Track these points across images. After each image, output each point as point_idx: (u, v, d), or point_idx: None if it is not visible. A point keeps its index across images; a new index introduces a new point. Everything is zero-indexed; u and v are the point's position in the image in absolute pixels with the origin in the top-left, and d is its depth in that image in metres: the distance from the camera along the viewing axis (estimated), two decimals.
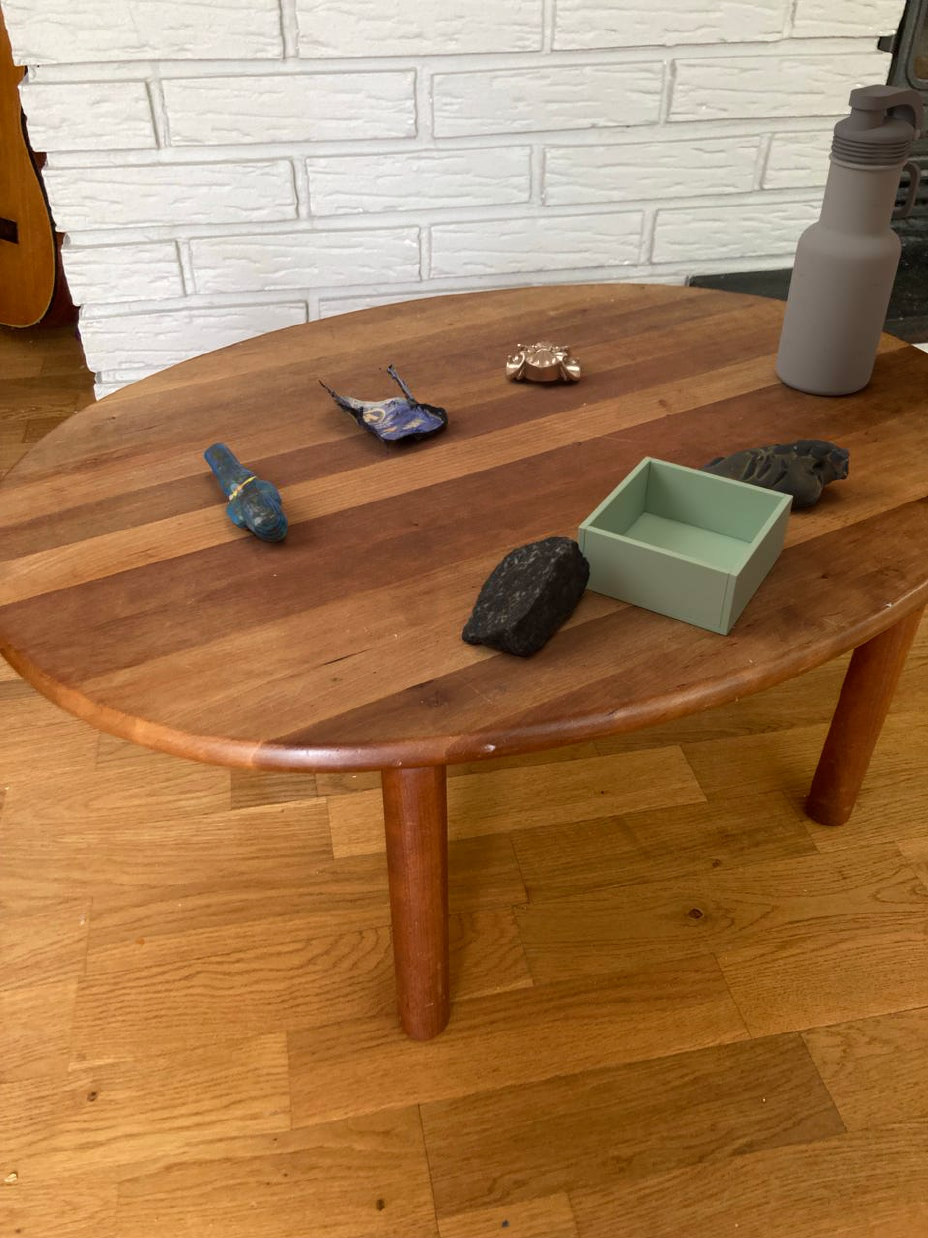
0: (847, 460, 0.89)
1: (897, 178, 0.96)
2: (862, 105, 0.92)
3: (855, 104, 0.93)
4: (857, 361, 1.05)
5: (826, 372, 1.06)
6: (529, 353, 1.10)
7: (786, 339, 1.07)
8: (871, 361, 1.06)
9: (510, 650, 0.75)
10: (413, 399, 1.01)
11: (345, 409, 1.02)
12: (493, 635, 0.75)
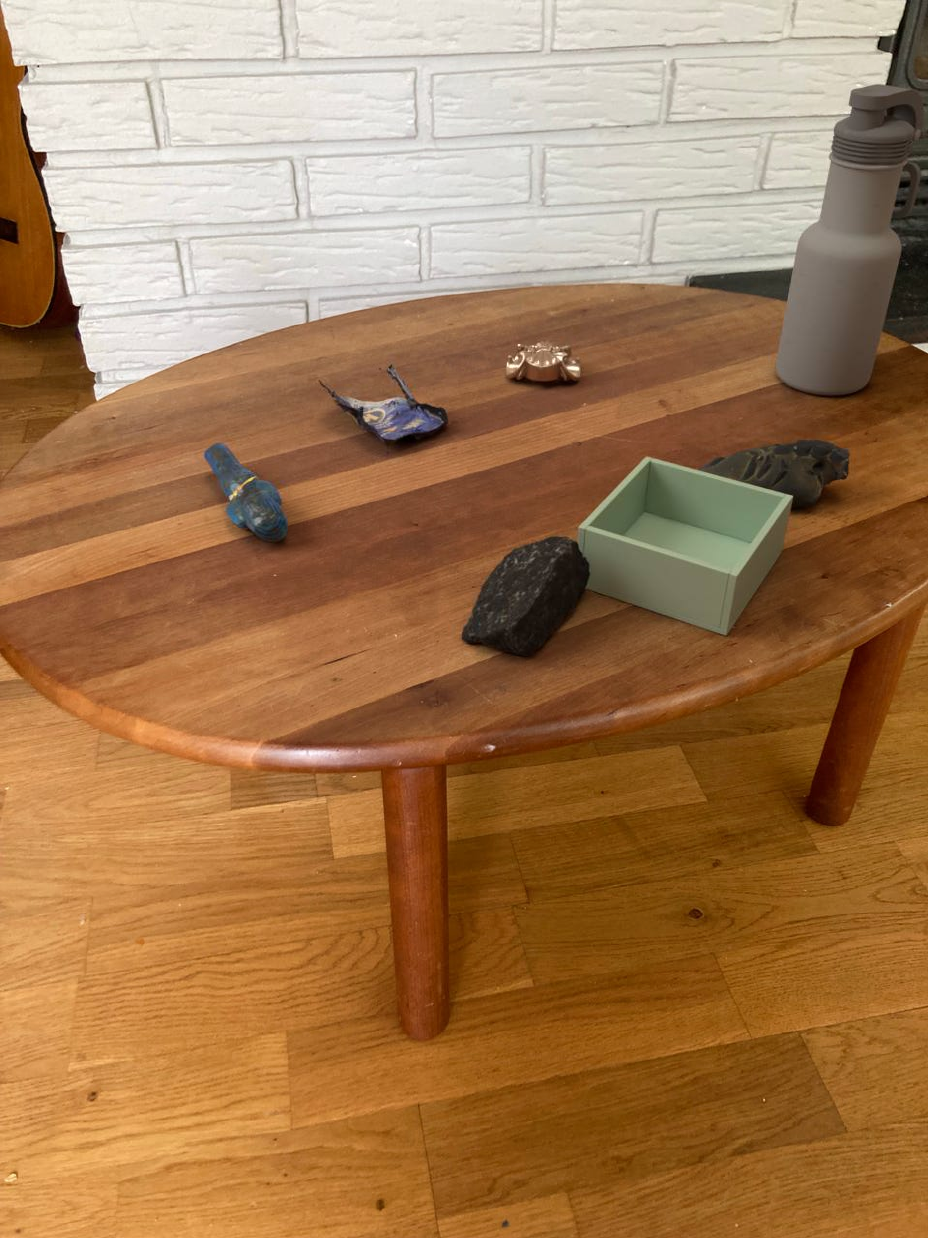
0: (847, 460, 0.89)
1: (897, 178, 0.96)
2: (862, 105, 0.92)
3: (855, 104, 0.93)
4: (857, 361, 1.05)
5: (826, 372, 1.06)
6: (529, 353, 1.10)
7: (786, 338, 1.07)
8: (871, 361, 1.06)
9: (510, 650, 0.75)
10: (413, 399, 1.01)
11: (345, 409, 1.02)
12: (493, 635, 0.75)
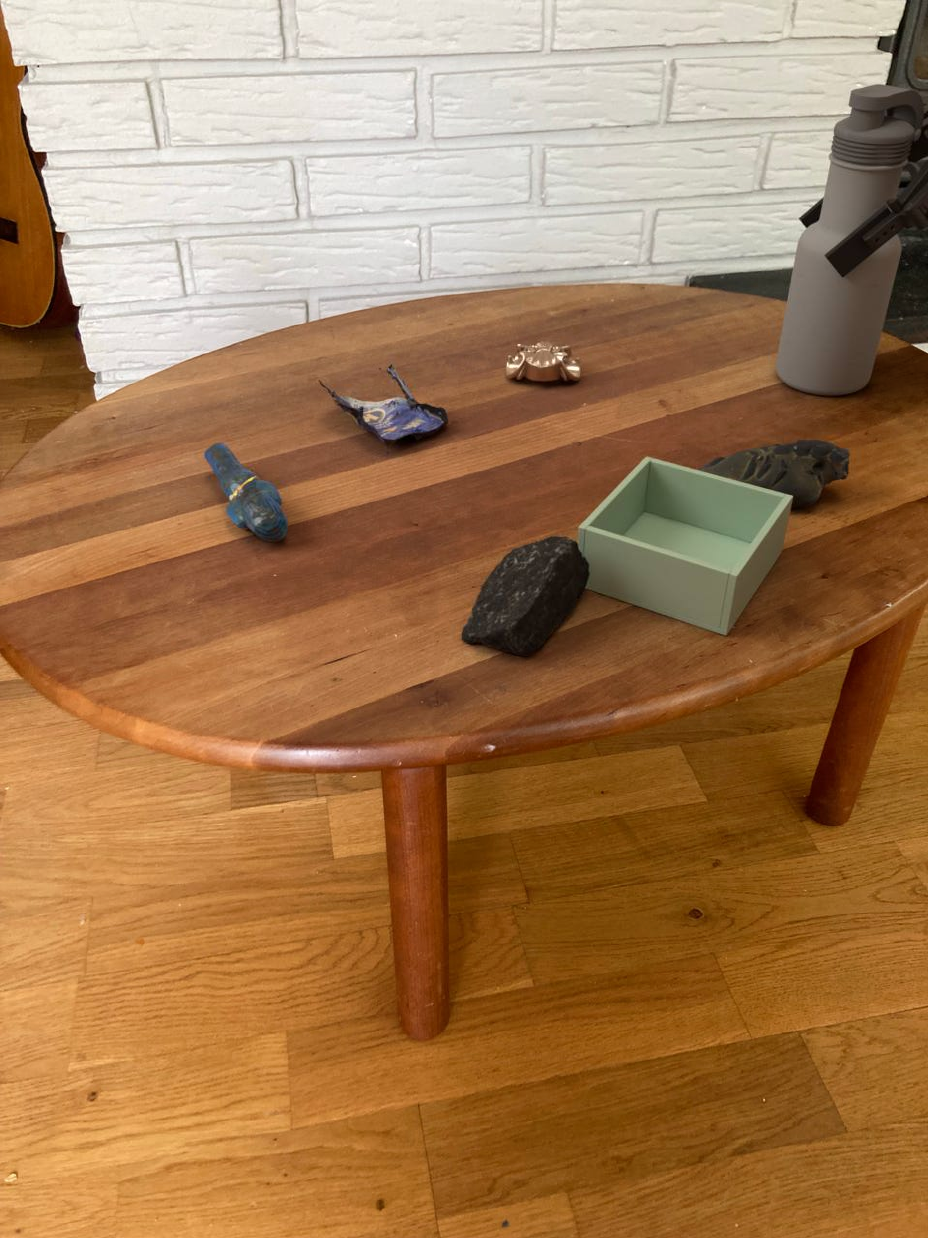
0: (847, 460, 0.89)
1: (897, 179, 0.96)
2: (862, 106, 0.92)
3: (855, 105, 0.92)
4: (857, 361, 1.05)
5: (826, 372, 1.06)
6: (529, 353, 1.10)
7: (786, 339, 1.07)
8: (871, 361, 1.06)
9: (510, 650, 0.75)
10: (413, 399, 1.01)
11: (345, 409, 1.02)
12: (493, 635, 0.75)
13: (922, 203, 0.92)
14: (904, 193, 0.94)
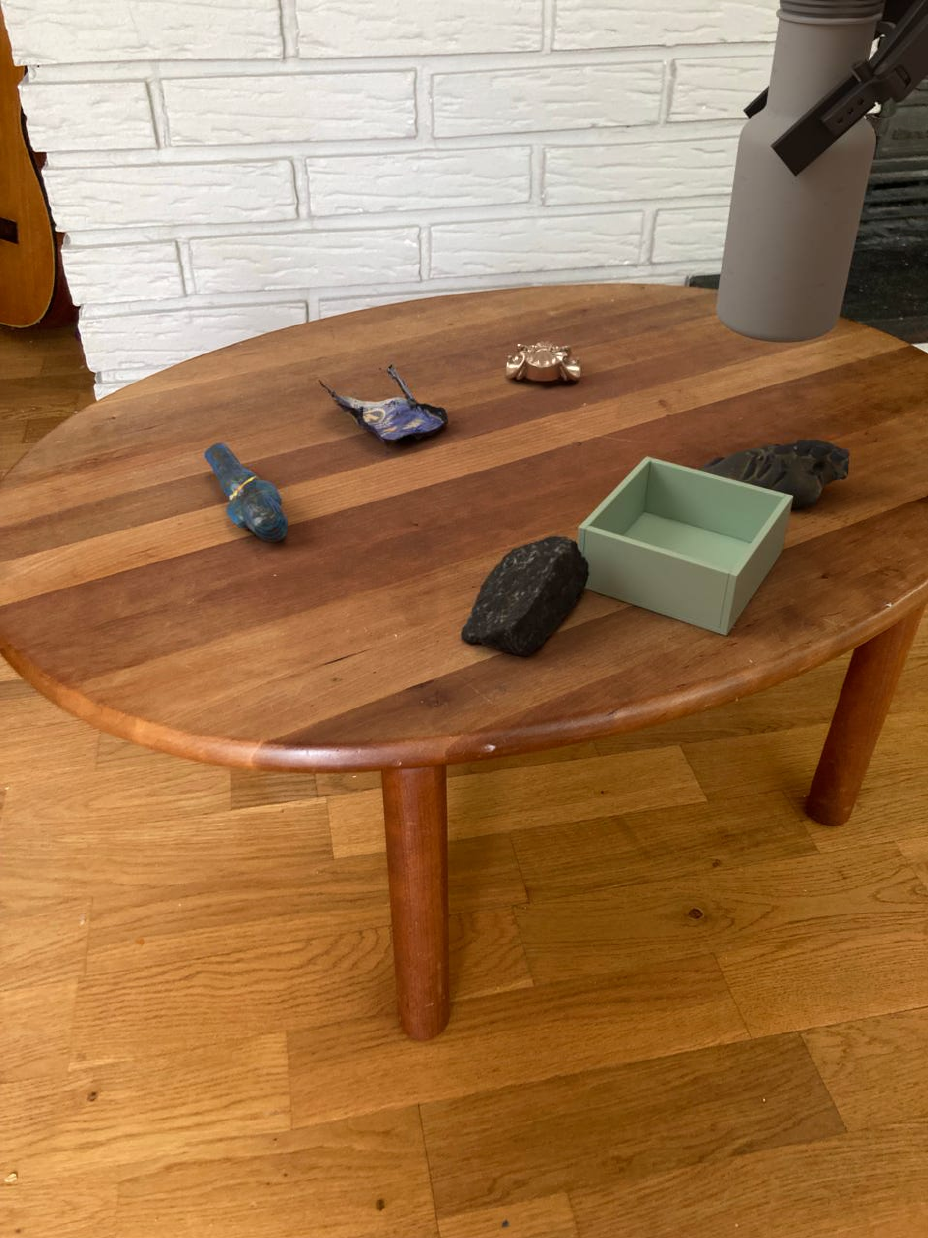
0: (847, 460, 0.89)
1: (868, 39, 0.71)
2: None
3: None
4: (819, 295, 0.80)
5: (778, 311, 0.80)
6: (529, 353, 1.10)
7: (727, 268, 0.82)
8: (838, 296, 0.81)
9: (509, 650, 0.75)
10: (413, 399, 1.01)
11: (345, 409, 1.02)
12: (493, 635, 0.75)
13: (900, 62, 0.66)
14: (876, 54, 0.69)
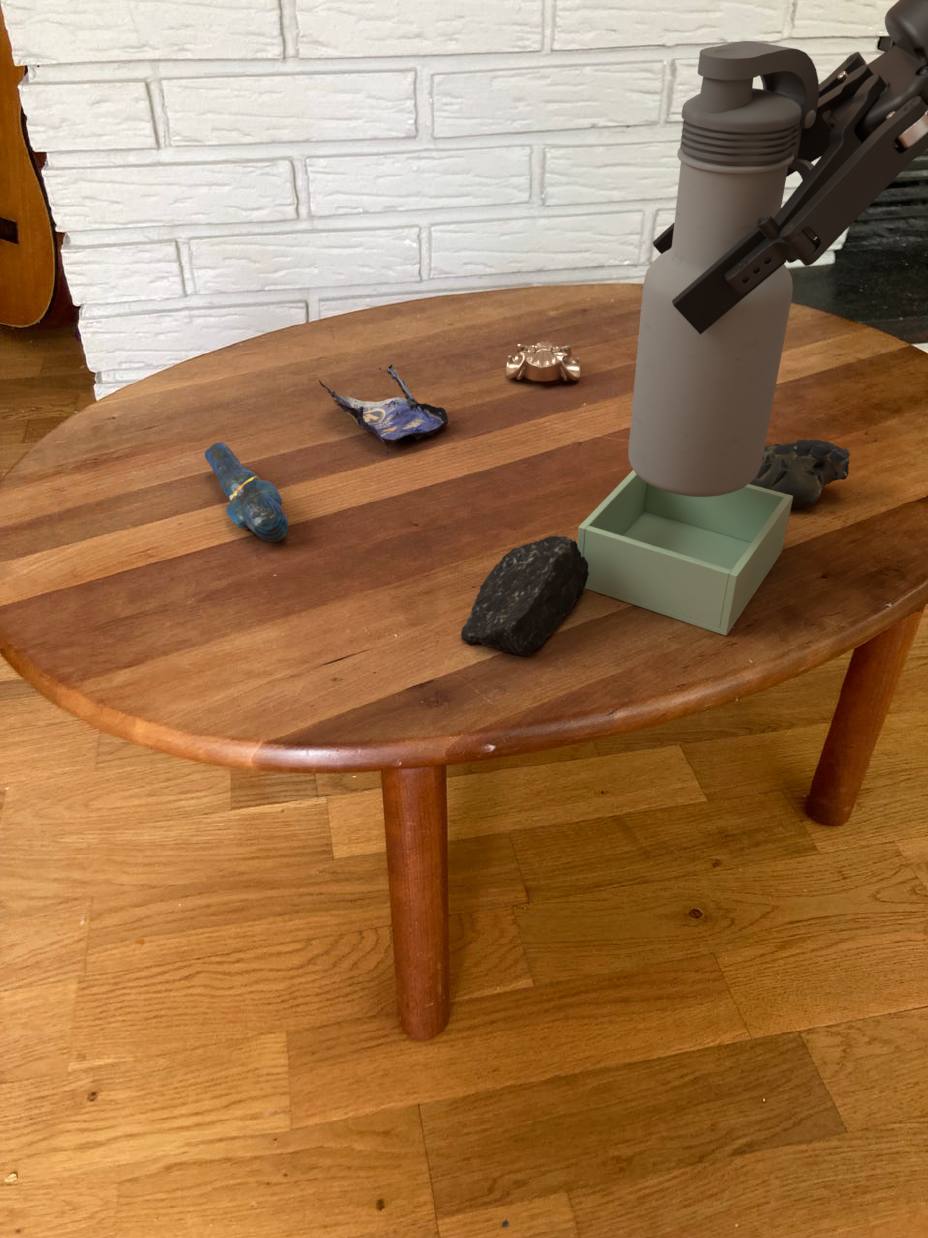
0: (847, 460, 0.89)
1: (778, 186, 0.63)
2: (715, 73, 0.59)
3: (705, 71, 0.60)
4: (734, 450, 0.72)
5: (691, 466, 0.73)
6: (529, 353, 1.10)
7: (636, 415, 0.74)
8: (757, 449, 0.73)
9: (509, 650, 0.75)
10: (413, 399, 1.01)
11: (345, 409, 1.02)
12: (493, 635, 0.75)
13: (808, 225, 0.59)
14: (784, 208, 0.61)
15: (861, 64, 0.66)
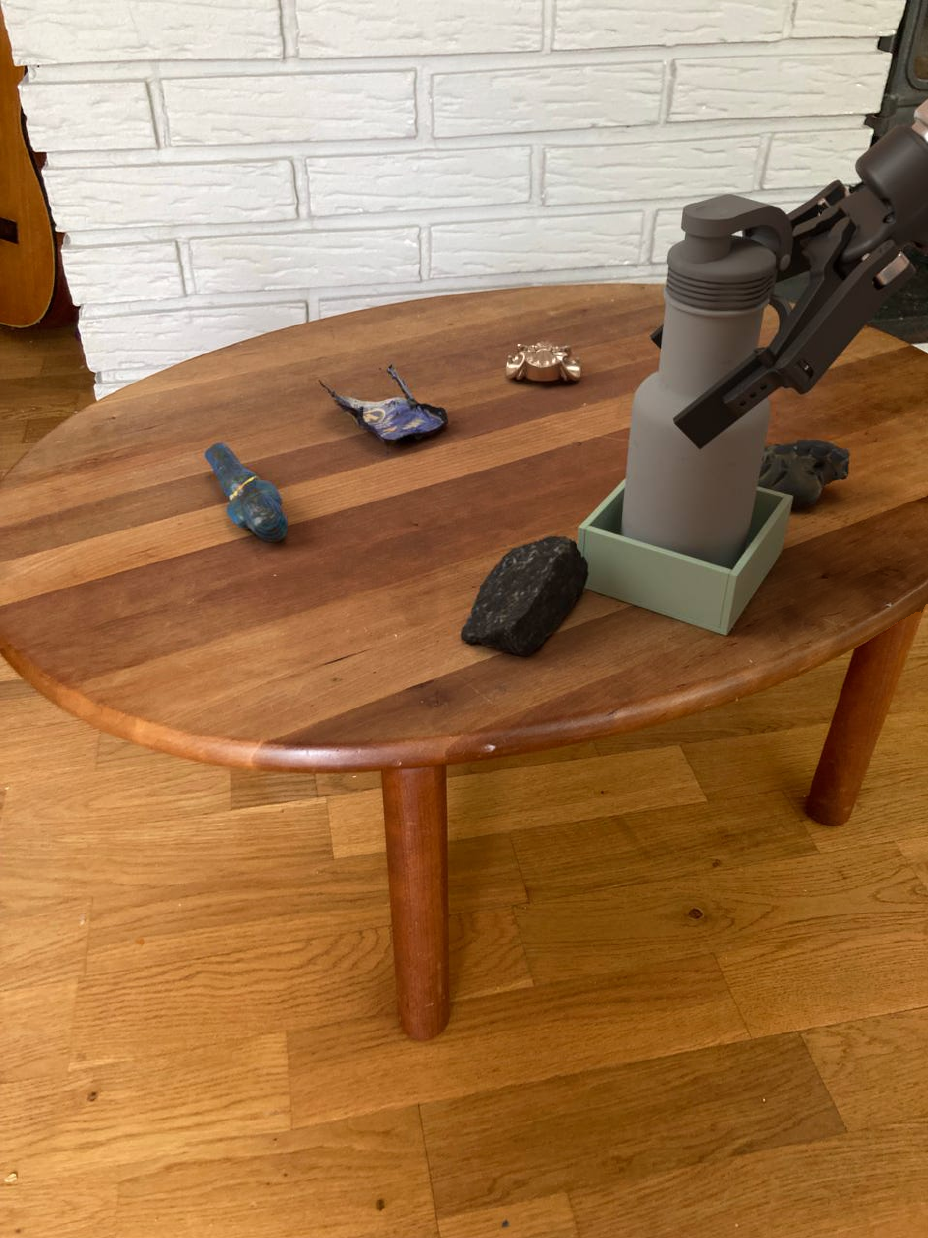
0: (847, 460, 0.89)
1: (755, 325, 0.69)
2: (696, 231, 0.65)
3: (687, 228, 0.65)
4: (717, 556, 0.78)
5: None
6: (529, 353, 1.10)
7: (626, 520, 0.80)
8: (738, 553, 0.79)
9: (509, 650, 0.75)
10: (413, 399, 1.01)
11: (345, 409, 1.02)
12: (493, 635, 0.75)
13: (801, 357, 0.62)
14: (777, 339, 0.65)
15: (841, 192, 0.71)
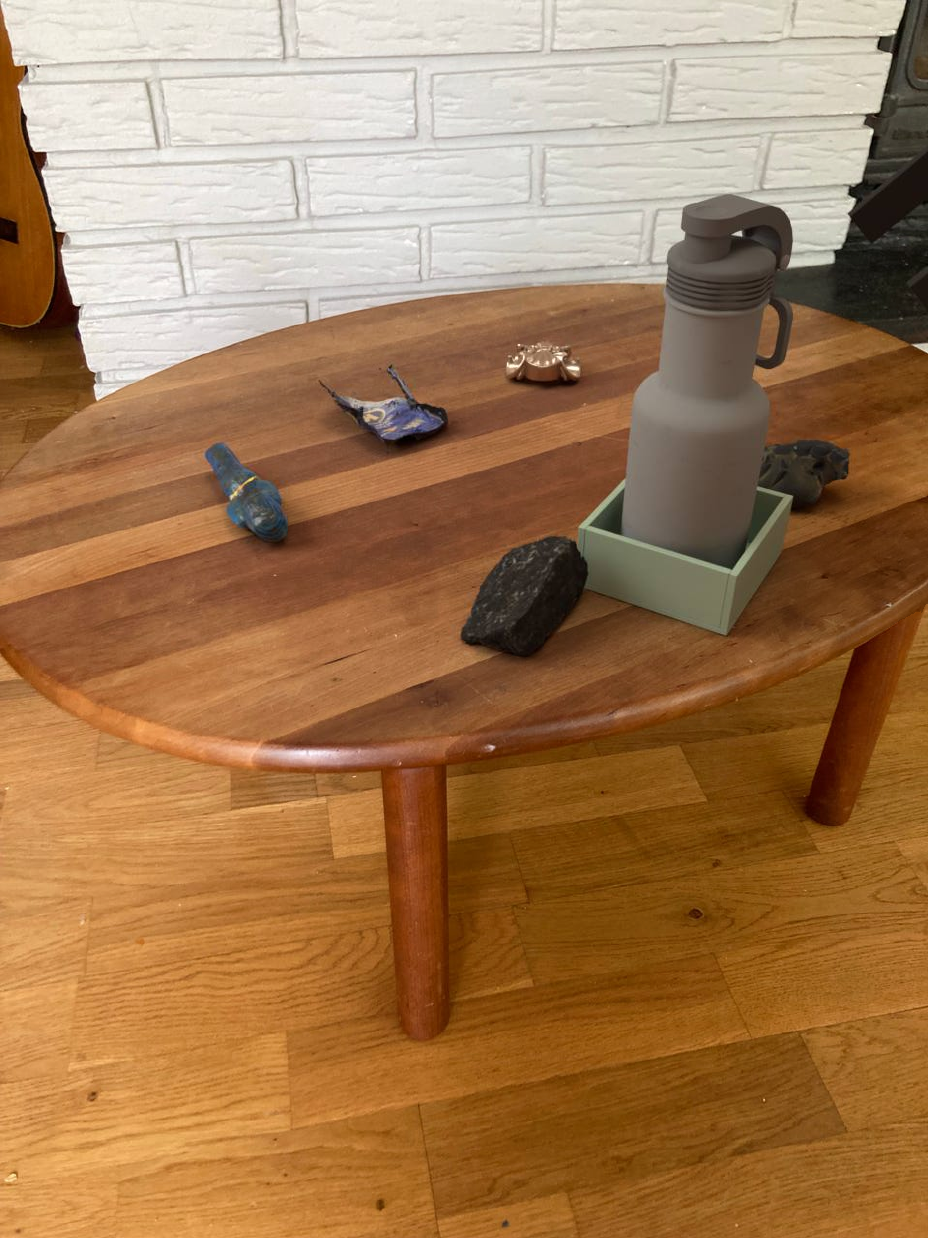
0: (847, 460, 0.89)
1: (755, 325, 0.69)
2: (696, 231, 0.65)
3: (687, 228, 0.65)
4: (717, 556, 0.78)
5: None
6: (529, 353, 1.10)
7: (626, 520, 0.80)
8: (738, 553, 0.79)
9: (509, 650, 0.75)
10: (413, 399, 1.01)
11: (345, 409, 1.02)
12: (492, 635, 0.75)
13: None
14: None
15: None
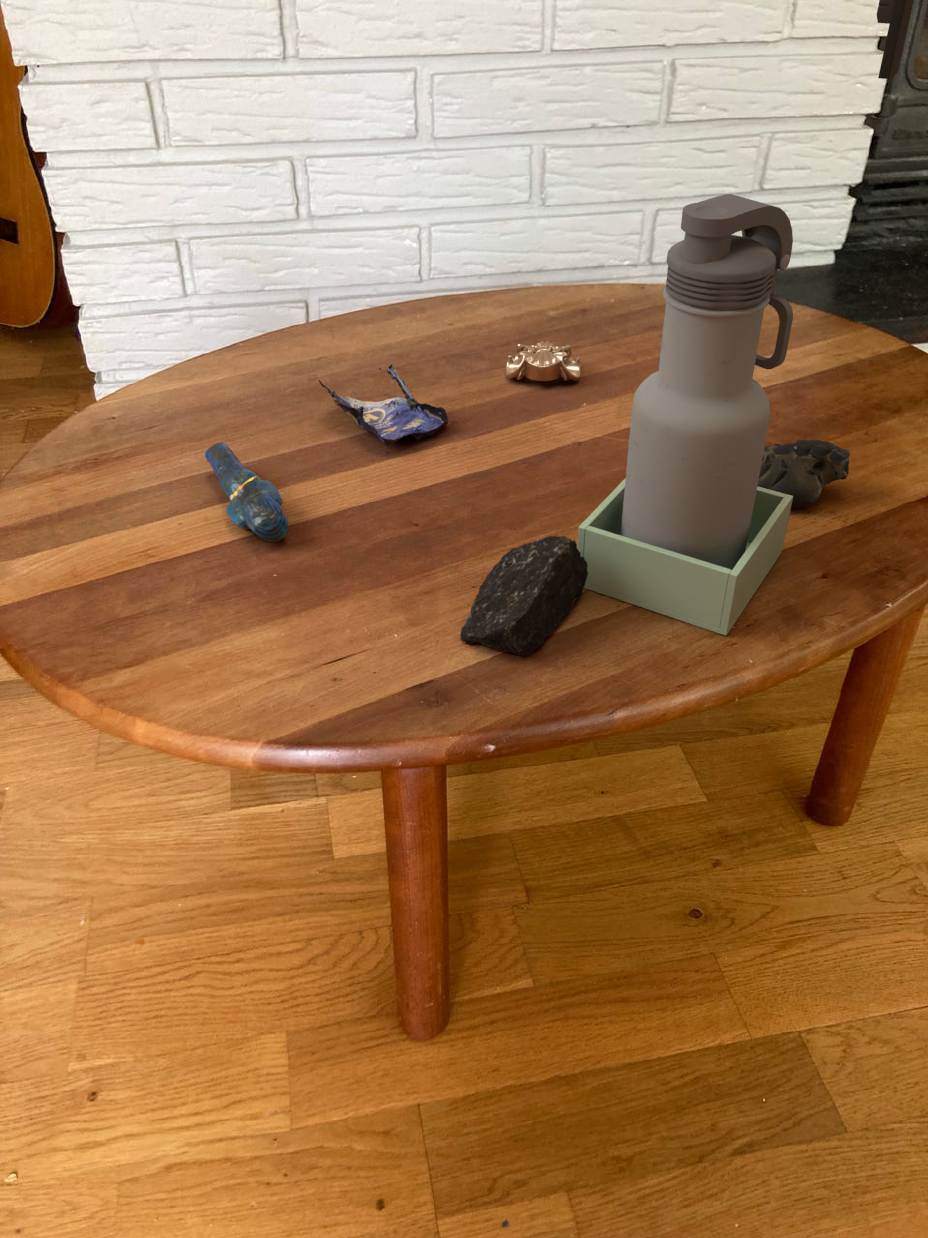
0: (847, 460, 0.89)
1: (755, 325, 0.69)
2: (696, 231, 0.65)
3: (687, 228, 0.65)
4: (717, 556, 0.78)
5: None
6: (529, 353, 1.10)
7: (626, 520, 0.80)
8: (738, 553, 0.79)
9: (509, 650, 0.75)
10: (413, 399, 1.01)
11: (345, 409, 1.02)
12: (492, 635, 0.75)
13: None
14: None
15: None
